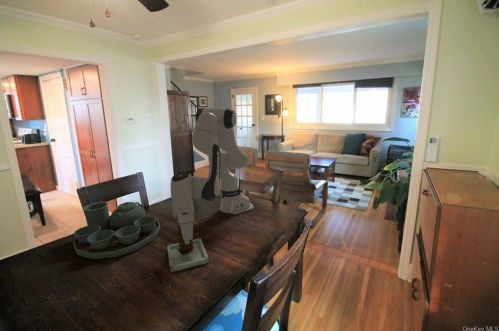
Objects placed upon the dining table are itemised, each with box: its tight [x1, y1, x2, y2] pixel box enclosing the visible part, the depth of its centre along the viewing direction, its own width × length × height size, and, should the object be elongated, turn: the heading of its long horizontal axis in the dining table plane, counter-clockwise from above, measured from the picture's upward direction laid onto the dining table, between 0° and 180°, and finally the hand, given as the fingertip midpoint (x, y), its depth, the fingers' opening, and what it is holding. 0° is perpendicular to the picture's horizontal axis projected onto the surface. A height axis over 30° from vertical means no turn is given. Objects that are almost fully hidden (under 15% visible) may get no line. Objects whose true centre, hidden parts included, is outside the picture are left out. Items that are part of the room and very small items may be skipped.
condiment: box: [176, 224, 198, 256], centre depth 104 cm, size 7×8×12 cm
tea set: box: [72, 201, 161, 260], centre depth 123 cm, size 40×40×16 cm
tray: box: [167, 237, 210, 273], centre depth 107 cm, size 16×18×2 cm
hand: (185, 239), depth 106 cm, fingers closed on condiment, 6 cm apart
